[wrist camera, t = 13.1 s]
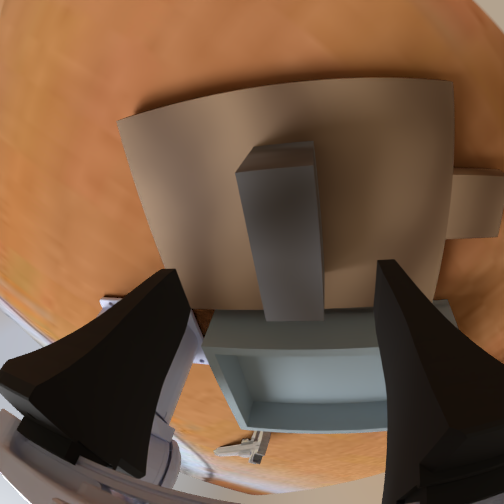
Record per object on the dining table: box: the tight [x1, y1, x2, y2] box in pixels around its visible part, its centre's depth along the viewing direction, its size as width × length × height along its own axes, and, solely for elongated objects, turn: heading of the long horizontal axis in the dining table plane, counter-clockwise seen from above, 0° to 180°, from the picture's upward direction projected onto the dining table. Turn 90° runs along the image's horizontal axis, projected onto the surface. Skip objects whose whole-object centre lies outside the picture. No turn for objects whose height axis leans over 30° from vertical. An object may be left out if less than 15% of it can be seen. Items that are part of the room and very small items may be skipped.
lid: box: [116, 77, 504, 321], centre depth 15 cm, size 22×14×6 cm, turn 99°
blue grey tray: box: [201, 299, 458, 434], centre depth 25 cm, size 22×20×5 cm
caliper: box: [214, 431, 271, 464], centre depth 37 cm, size 20×1×6 cm, turn 154°
